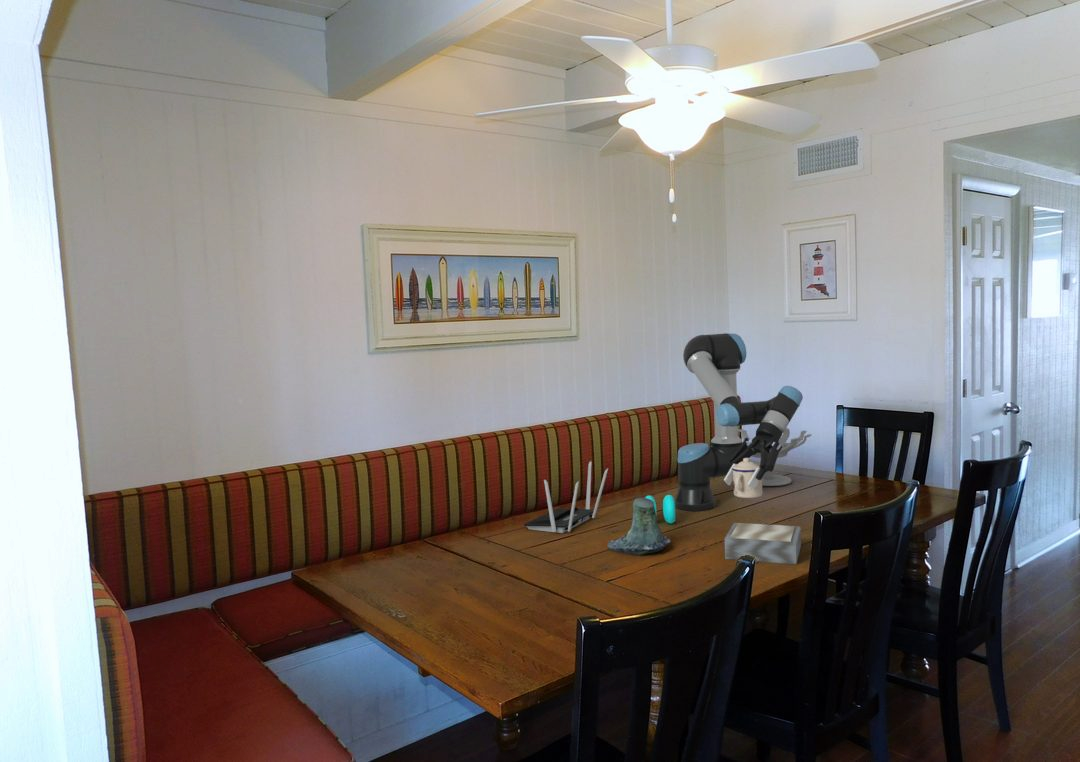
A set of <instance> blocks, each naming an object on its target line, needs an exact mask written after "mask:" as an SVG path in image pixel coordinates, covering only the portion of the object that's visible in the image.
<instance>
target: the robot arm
mask: <svg viewBox="0 0 1080 762" xmlns="http://www.w3.org/2000/svg"><path fill="white" fill-rule="evenodd" d="M742 338H743V337H741V335H739V334H737V333H726V332H724V333H714V334H699V335H696V336H694V337H692V338H691V339H690V340H688V342H687V343H686V344H685V347H684V350H683V355H682V356H683V361H684V362H683V363H684V364H685V367H686V368H687V370H688V371H689V372H690V373H691V374H694V375H695V377H696V378H697V380H698V381H699V383H700V384H701V385H702V387H703V389H704V390H705V391H706V392H707V394H708V396H709V397H710V399H711V400H712V401H713V413H714V414H713V417H714V419H713V420H714V437H713V438H712V439H711V440H710V446H709V444H708V443H706V442H705V443H704V442H698V443H691V444H690V443H689V444H685V445H684V446H681V447H679V449H678V451H677V476H678V487H677V491H676V495H675V498H674V502H675V509H678V510H682V511H690V512H694V511H695V512H698V511H699V512H700V511H708V510H712V509H715V508H716V498H715V497H714V493H713V490H712V488H711V481H710V480H711V478H718V477H724V479H723V481H724V482H725V483H726V484H727V486H731V485H732V483H733V470H732V467H733V466H734V465H736V464H738V463H740V462H742V461H743V459H744V458H749V459H751V457H752V455H755V454H756V453H761V458H760V463H759V465H760V466H759V467H760V468H758V467H757V469H756V470H755V472H754V474H753V475H752V477H751V479H750V481H749V482H748V484H747V485H748V486H749V487H750V488H751V489H752V490H754V489H755V487H756V485H757V484H758V482H759V480H761V479H762V477H763V476H764V474H765V473H766V472H767V471H770V472H772V471H774V469H775V466H776V464H777V463H776V462H777V460H778V458H777V457H778V454H779V452H780V450H781V449H782V446H781V444H780V443H779V442H778V441H779V440H780V438H781V437H782V435H783V432H784V431H785V429H786V428H788V425H789V424H790V422H791V420H792V419H793V417H794V416H795V413H796V412H797V410H798V409H799V407H800V406H801V404H802V402H803V397H804V396H803V394H802V392H801V391H800V390H799V389H798V388H797V387H794V386H792V385H784V386H782V387H781V389H779V391H778V393H777V395H776V396H773V397H772V398H770V399H769V400H759V401H749V402H748V401H747V402H742V401H741V400H740V398H739V397H738V389H737V387H738V385H737V373H738V372H739V371H740V370H741V364H744V363H745V362H746V358H747V346H746V344H745V342H744V340H743V339H742ZM748 425H749V426H750V425H758V427H757V429H756V430H755V436H754V437H753V438H751V440H749V439H748V438H745V439H741V437H739V432H738V430H739V427H741V426H748ZM751 448H753V450H754V451H753V450H752V449H751ZM770 449H771V451H770Z"/></svg>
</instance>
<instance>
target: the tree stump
mask: <svg viewBox="0 0 1080 762" xmlns="http://www.w3.org/2000/svg"><path fill="white" fill-rule="evenodd" d="M632 510H633V511H632V512H633V514H632V524H631V528H630V529H629V530H628V532H627V535H626V534H623V535H622V536H621V537H619V538H615V539H612V540H611V541H608V542H607V549H608V550H610V551H612V552H616V553H621V554H625V555H633V556H643V555H647V554H648V555H649V554H653V553H659V552H661V551H662V550H663V549H664V548H665V547H666V546H668V545H669V544H670V543H671V539H670V538H669V537H668V536H666V535H665V536H664V535H663V532H662V531H663V530H662V529H661V528H660V526H659V523H658V519H657V512H656V513H655V508H654V502H653V501H652V500H650V499H647V498H645V497H637V498H635V499H634V500H633V503H632Z"/></svg>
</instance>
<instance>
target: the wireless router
mask: <svg viewBox="0 0 1080 762" xmlns="http://www.w3.org/2000/svg"><path fill="white" fill-rule="evenodd" d="M592 463H593V462H592V461H589V462H588V467H587V482H586V483H587V484H586V498H585V508H578V507H577V506H576V503H577V497H578V490H579V485H580V480H578V481H577V482H576V483H575V485H574V486H575V487H574V490H573V492H574V493H573V496H572V497H573V498H572V503H571V507H569V508H556V509H553V504H552V500H551V499H552V498H551V494H550V488H549V482H548V481H547V479H543V483H544V488H545V495H546V502H547V507H548V508H547V509H548V512H546V513H544V514H542V515H540V516H538V517H536V518H534V519H531V520H529V521H528V522H525V523H524V524H523V526H524V527H526V528H527V529H528V530H533V531H539V532H540V531H541V532H548V533H556V534H557V533H558V534H559V533H560V534H564V533H566V532H568V533H569V532H572V529H574V528H575V527H577V526H579V525H581V524H583V523H584V522H586V521H588V520H590V519H591V518H592V519H595V518H596V514H597V512H598V508H599V504H600V500H601V496H602V493H603V491H604V486H605V481H606V479H607V476H608V475H607V474H608V471H609V468H606V469H605V471H604V473H603V476H602V480H601V484H600V488H599V491H598V494H597V497H596V501H595V505H594V509H591V508H590V507H591V505H590V504H591V488H592V487H591V486H592V485H591V484H592V483H591V482H592Z"/></svg>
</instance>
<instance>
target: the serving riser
mask: <svg viewBox="0 0 1080 762" xmlns="http://www.w3.org/2000/svg"><path fill="white" fill-rule="evenodd" d="M801 527H802V526H795V525H780V524H763V523H762V524H760V523H746V522H745V523H743V522H738V523H737V522H734V523H733V524H732V526H731V528H729V531H728V532H727V534H726V536H725V537H724V558H725V560H737V561H739V560H738V559H739V558H740V557H741V556H745V555H750V556H753V557H755V559H756V561H755V562H764V563H775V564H788V565H789V564H790V565H797V563H798V559H799V556H800V550H801V547H802V541H801V540H802V538H801V537H802V535H801V533H802V532H801V530H802V529H801Z"/></svg>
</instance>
